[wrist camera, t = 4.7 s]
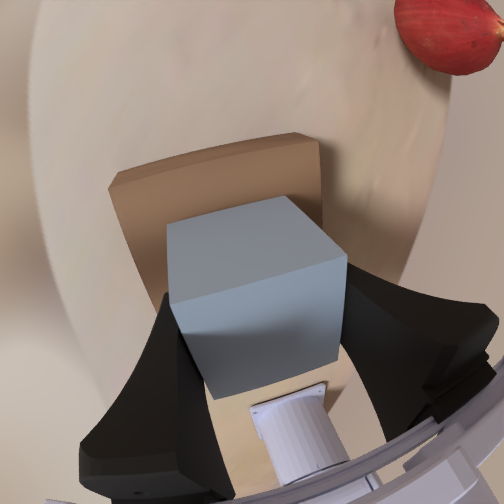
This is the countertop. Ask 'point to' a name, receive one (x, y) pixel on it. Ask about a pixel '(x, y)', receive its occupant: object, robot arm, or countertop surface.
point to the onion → (450, 33)
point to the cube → (256, 294)
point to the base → (210, 192)
